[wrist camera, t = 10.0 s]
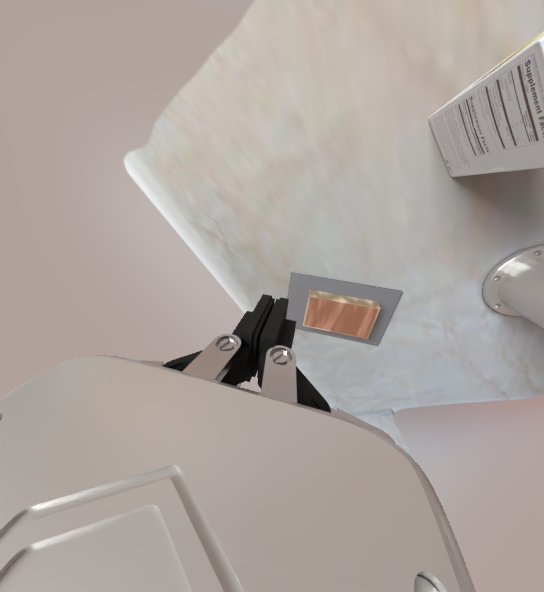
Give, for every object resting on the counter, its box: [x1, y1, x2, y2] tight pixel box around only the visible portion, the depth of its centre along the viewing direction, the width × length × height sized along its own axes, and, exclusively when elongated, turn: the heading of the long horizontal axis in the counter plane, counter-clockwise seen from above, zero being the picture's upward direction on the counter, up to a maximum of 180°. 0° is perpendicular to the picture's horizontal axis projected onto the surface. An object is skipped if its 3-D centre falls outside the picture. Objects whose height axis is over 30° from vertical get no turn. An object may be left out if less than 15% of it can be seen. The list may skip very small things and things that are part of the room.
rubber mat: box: [286, 272, 402, 346], centre depth 44 cm, size 22×14×1 cm, turn 85°
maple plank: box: [303, 290, 381, 339], centre depth 42 cm, size 3×8×14 cm
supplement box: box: [428, 30, 544, 177], centre depth 19 cm, size 10×9×17 cm
